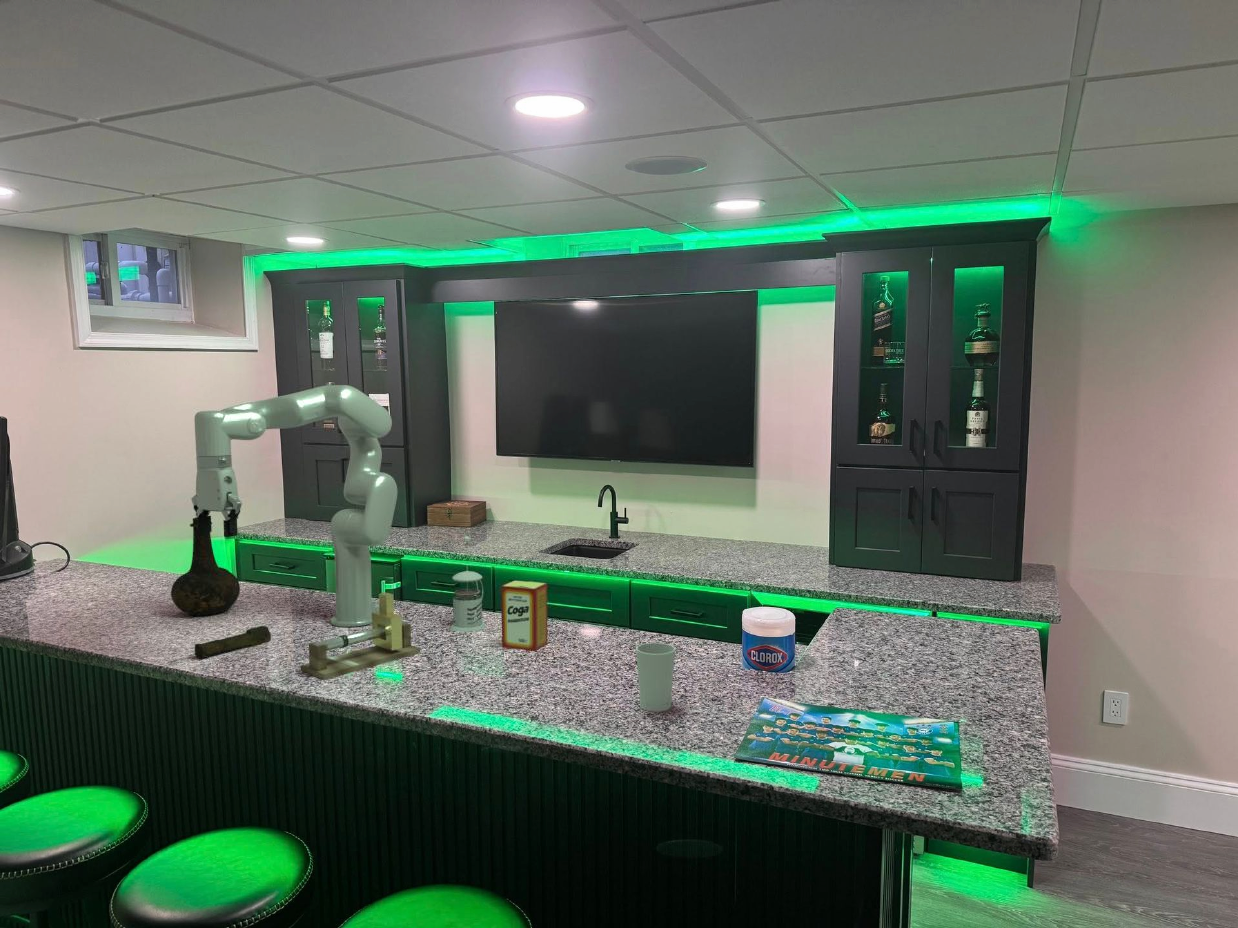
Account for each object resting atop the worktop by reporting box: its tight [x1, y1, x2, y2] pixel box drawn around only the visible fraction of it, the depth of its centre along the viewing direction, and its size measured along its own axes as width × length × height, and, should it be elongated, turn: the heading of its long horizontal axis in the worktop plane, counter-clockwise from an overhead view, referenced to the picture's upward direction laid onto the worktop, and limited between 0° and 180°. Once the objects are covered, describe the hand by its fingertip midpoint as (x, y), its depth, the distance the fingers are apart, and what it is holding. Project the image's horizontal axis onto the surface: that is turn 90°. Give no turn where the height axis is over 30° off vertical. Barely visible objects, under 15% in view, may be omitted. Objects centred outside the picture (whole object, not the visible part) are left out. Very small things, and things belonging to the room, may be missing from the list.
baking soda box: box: [500, 580, 548, 652], centre depth 215 cm, size 10×6×16 cm
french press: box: [449, 535, 487, 633], centre depth 233 cm, size 10×12×25 cm
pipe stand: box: [300, 622, 421, 681], centre depth 202 cm, size 26×10×7 cm, turn 140°
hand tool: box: [194, 625, 272, 660], centre depth 211 cm, size 19×4×5 cm, turn 141°
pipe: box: [314, 620, 407, 652], centre depth 202 cm, size 24×3×3 cm, turn 140°
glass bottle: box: [170, 516, 241, 617], centre depth 247 cm, size 18×18×28 cm
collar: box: [371, 592, 403, 650], centre depth 207 cm, size 3×8×13 cm, turn 50°
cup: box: [635, 642, 676, 713], centre depth 173 cm, size 8×8×12 cm
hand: (217, 534), depth 203 cm, fingers open, 9 cm apart
